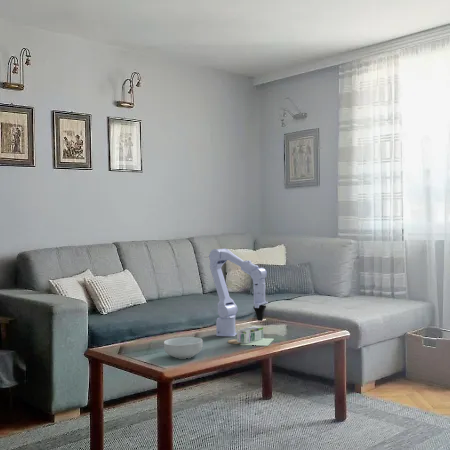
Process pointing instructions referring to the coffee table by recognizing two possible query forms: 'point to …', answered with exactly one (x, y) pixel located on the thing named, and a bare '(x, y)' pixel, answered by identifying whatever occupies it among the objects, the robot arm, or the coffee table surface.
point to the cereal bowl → (183, 347)
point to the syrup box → (249, 334)
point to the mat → (259, 342)
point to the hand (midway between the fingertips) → (260, 320)
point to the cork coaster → (233, 341)
